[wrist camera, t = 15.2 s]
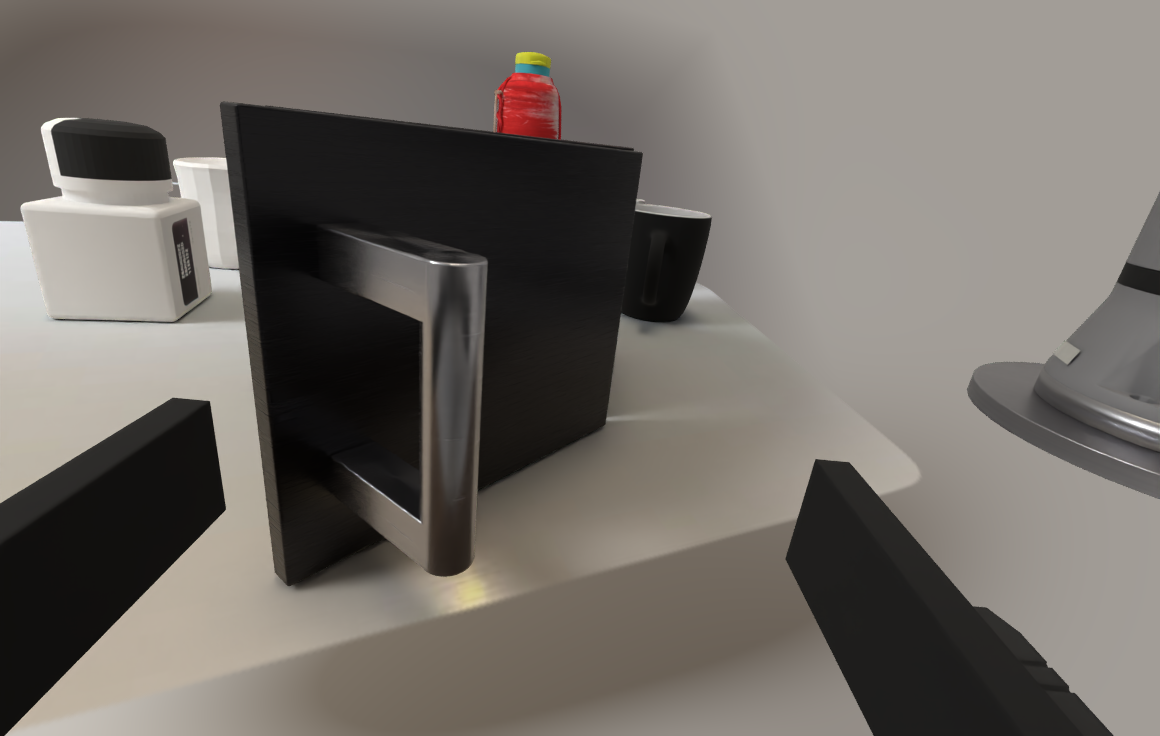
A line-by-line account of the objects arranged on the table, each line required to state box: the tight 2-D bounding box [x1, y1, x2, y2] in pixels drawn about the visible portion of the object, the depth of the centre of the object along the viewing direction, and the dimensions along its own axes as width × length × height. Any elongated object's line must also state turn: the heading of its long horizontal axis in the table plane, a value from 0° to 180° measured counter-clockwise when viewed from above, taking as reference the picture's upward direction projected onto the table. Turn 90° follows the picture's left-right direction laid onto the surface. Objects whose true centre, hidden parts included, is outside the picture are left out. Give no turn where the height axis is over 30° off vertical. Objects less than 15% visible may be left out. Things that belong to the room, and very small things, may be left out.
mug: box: [621, 204, 712, 322], centre depth 53 cm, size 12×9×10 cm
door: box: [220, 102, 643, 586], centre depth 21 cm, size 7×18×15 cm, turn 141°
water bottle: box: [493, 52, 561, 140], centre depth 73 cm, size 12×8×25 cm, turn 115°
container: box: [21, 118, 212, 322], centre depth 40 cm, size 8×8×13 cm
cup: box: [173, 157, 239, 269], centre depth 57 cm, size 10×10×10 cm
